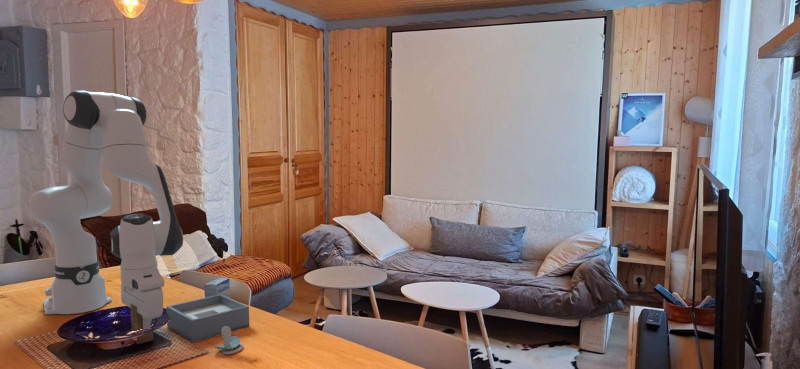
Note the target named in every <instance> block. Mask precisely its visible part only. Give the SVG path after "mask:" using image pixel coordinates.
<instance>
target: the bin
mask: <svg viewBox="0 0 800 369" xmlns="http://www.w3.org/2000/svg"><path fill="white" fill-rule="evenodd" d="M167 314H168V315H169V316H170V317H171V319H170V321H169V322H168V323H167V322H166V326H167V328H168V329H170V330H171V331H173V332H175V333H176V334H178V335H180V336H182V337H183V338H185V340H188V341H189V342H190V343H196V342H200V341H203V340H207V339H212V338H214V337H217V336H222V335H221V330H222V328H223V327H224V326H228V327H229V328H230V329H231V333H232V332H236V331H239V330H243V329H246V328H250V307H249V305H247V304H245V303H242V302H240V301H238V300H235V299H233V298H231V297H230V298H229V297H226V296H224V295H222V294H219V295H215V296H210V297H206V298H205V297H202V298H197V299H193V300H189V301H184V302H179V303H175V304H171V305H170V304H169V305H167V306H166V315H167Z"/></svg>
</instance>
